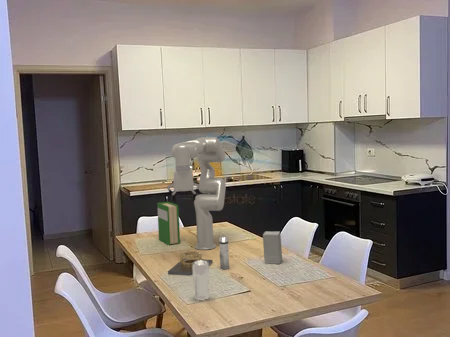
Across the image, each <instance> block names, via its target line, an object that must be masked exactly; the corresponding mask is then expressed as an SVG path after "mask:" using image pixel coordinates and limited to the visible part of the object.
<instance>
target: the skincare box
mask: <svg viewBox="0 0 450 337" xmlns="http://www.w3.org/2000/svg"><path fill="white" fill-rule="evenodd" d="M262 243H263V244H262V245H263V256H264V257H263V259H264V264H267V263H268V264H269V265H272V264H273V265H280V264H281V263H282V261H283V251H282V237H281V231H264V232H263V234H262Z"/></svg>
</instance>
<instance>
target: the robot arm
mask: <svg viewBox="0 0 450 337" xmlns="http://www.w3.org/2000/svg"><path fill="white" fill-rule="evenodd" d="M170 152H171V156H172V158H174V159H175V160H174V161H175V162H174V163H175V171H174V172H173V182H172V183H171V184H169V185H166V190H167V191H168V192H169V194H171V195H172V202H173V204H176V193H177V192H190V191H191V192H192V198H191V199H192V202H193V205H194V209H195V210H194V211H195V219H196V221H195V222H196V241H197V242H196V244H195V245H194V248H195V249H196V250H199V251H207V250H214V249H215V248H216V247H217V244H216V243H214V226H213V216H212V214H211V213H210V212H212V211H214V212H215V211H216V212H217V211H218V212H219V211H222V210H223V209H224V206H225V198H226V188H227V187H226V181H225V179H224V178H223V177H215V176H216V171H215V168H214V167H213V165H211V163H222V162H224V161H225V158H226V153H225V150H224V146H223V145H222V143H221V140H220V139H218V137H216V136H210V137H209V136H208V137H207V136H203V137H199V138H196V139H194V140H188V141H183V142H179V143H175V144H174V145H173V146H172V148H171V151H170ZM195 158H197V162H198V165H199V168H200V177H199V184H198V183H197V182H194V177H193V172H192V171H191V170H194V166H191V159H195ZM194 186H196V189H194V188H195V187H194ZM172 187H173V190H172V189H171V188H172ZM198 192H200V193H201V194H197V193H198ZM196 194H197V195H196Z"/></svg>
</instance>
